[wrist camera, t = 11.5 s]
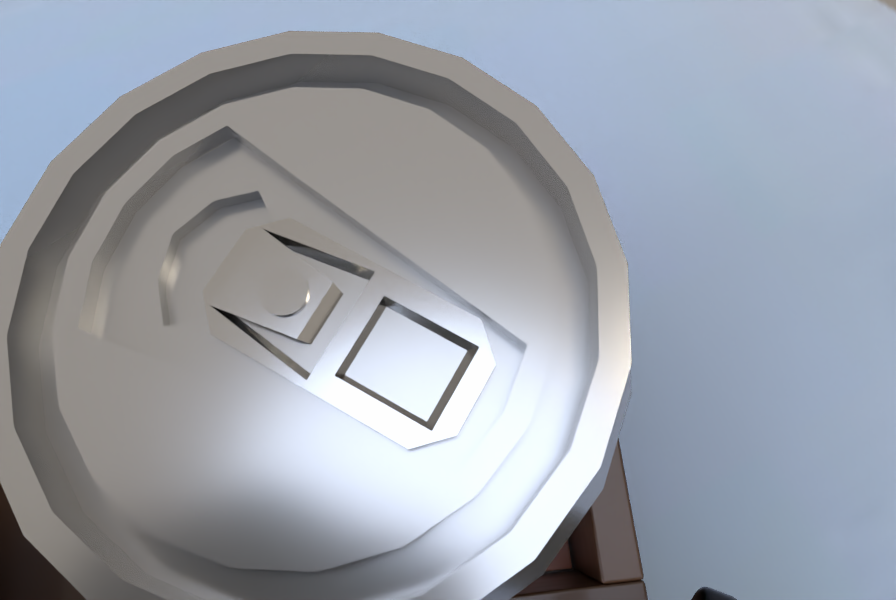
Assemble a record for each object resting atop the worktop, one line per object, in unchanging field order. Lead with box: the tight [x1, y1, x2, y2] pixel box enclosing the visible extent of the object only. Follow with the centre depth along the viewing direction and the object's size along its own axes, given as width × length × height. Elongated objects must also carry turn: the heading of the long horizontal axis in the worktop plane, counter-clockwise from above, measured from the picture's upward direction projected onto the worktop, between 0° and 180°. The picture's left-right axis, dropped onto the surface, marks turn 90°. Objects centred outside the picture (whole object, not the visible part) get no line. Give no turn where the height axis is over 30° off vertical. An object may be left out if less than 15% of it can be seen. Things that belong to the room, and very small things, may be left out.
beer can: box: [0, 31, 632, 600], centre depth 11 cm, size 5×5×12 cm
